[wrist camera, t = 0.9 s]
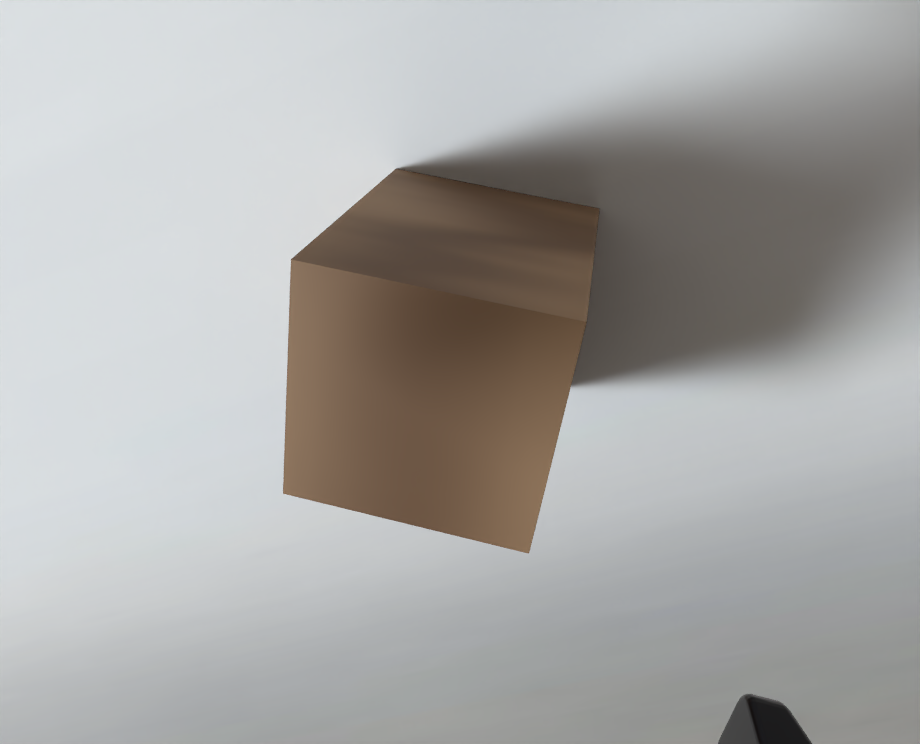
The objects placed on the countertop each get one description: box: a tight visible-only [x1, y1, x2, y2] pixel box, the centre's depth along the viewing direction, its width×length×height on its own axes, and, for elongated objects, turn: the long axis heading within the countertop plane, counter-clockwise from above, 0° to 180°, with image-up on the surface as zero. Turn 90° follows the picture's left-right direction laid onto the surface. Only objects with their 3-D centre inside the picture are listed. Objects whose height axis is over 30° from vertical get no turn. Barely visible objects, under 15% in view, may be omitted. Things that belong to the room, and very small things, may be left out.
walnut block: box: [283, 169, 599, 553], centre depth 15 cm, size 4×4×6 cm
